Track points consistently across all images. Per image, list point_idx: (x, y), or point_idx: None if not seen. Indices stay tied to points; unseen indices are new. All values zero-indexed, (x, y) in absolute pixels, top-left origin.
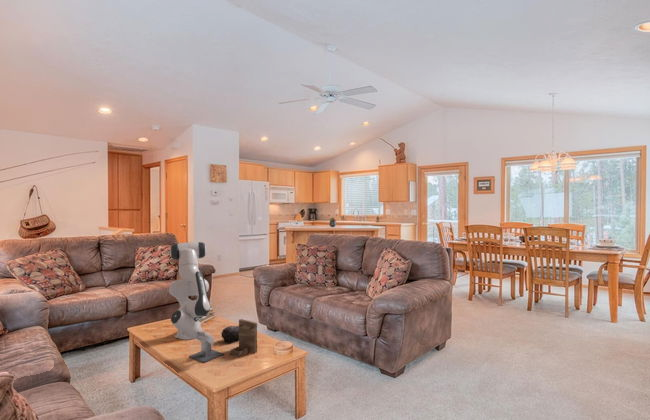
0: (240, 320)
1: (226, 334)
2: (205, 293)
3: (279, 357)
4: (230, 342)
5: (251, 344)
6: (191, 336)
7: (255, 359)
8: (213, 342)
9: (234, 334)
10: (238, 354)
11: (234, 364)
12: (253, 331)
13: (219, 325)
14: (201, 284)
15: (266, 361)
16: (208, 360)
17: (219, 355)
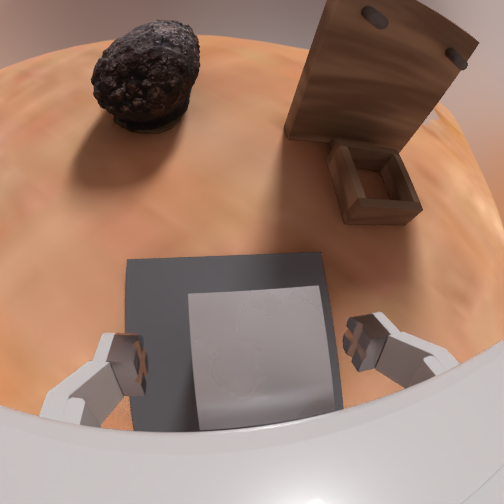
0: None
1: (157, 83)
2: None
3: (458, 151)
4: (175, 116)
5: (400, 122)
6: None
7: (451, 200)
8: (384, 316)
9: (197, 64)
10: (413, 217)
11: (457, 297)
12: (451, 71)
13: (5, 84)
14: None
15: (473, 194)
16: (340, 399)
17: (326, 292)
